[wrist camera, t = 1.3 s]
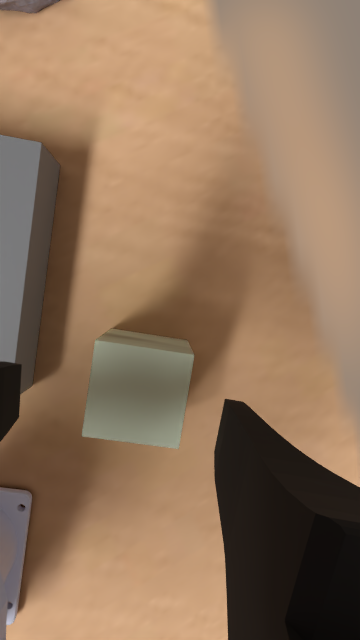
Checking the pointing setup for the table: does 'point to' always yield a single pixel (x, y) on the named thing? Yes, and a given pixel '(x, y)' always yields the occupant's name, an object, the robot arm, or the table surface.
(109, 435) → the sage green cube
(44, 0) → the stone block
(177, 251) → the table surface
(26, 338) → the stacking base
